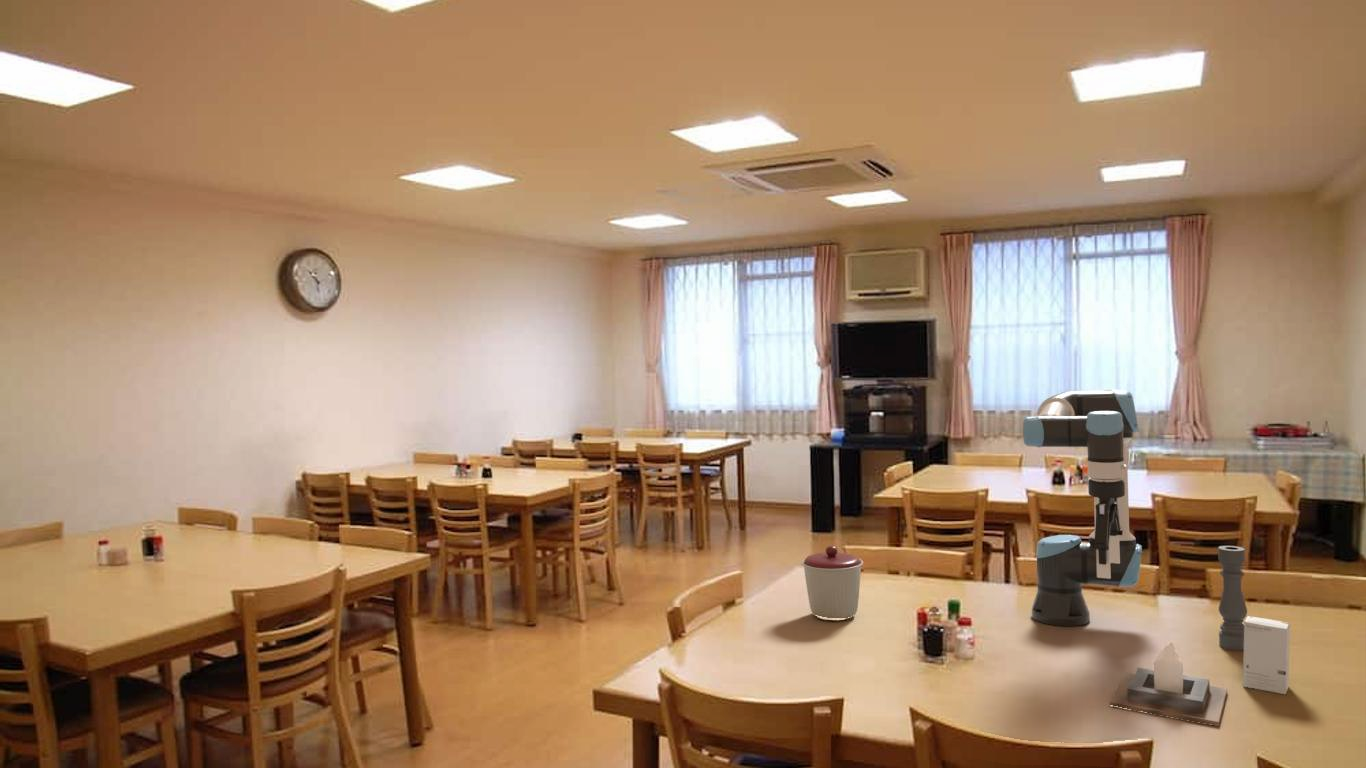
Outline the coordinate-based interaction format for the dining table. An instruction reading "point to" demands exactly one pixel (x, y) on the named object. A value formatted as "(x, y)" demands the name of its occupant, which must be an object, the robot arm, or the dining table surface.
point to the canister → (833, 583)
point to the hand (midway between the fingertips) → (1108, 570)
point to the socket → (1171, 698)
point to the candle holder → (1232, 598)
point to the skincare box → (1266, 654)
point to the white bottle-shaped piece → (1168, 670)
